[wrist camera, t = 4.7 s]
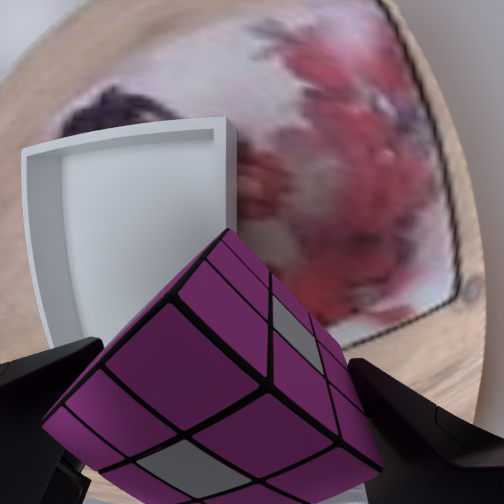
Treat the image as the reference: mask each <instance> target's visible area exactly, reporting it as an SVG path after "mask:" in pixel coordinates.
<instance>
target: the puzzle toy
mask: <svg viewBox="0 0 504 504" xmlns="http://www.w3.org/2000/svg"><path fill="white" fill-rule="evenodd" d="M347 367H348V365H347V363H346V360H345V358H344V355H343V352H342V350H341V347H340V345H339V344H338V343H337V342H336V340H335V339H334V338H333V337H332V336H331V335H330V334H329V333H328V332H327V331H326V330H325V329H324V328H323V327H322V326H321V324H320V323H319V322H318V321H317V320H316V319H315V318H314V317H313V316H312V315H311V314H309V313H308V312H307V310H306V308H305V307H304V306H303V305H302V304H301V303H300V302H299V301H298V300H297V299H296V298H295V297H294V296H293V294H292V293H291V292H290V291H289V290H288V289H287V288H286V287H285V286H284V285H283V284H282V283H281V282H280V281H279V279H278V278H277V277H276V276H275V275H274V274H273V273H271V272H269V269H268V268H267V267H266V266H265V264H264V263H263V262H262V261H261V260H260V259H259V258H258V257H257V256H256V255H255V254H254V253H253V252H252V251H251V249H250V248H249V247H248V246H247V245H246V244H245V243H244V242H243V241H242V240H241V239H240V238H239V237H238V236H237V235H236V233H235V232H234V231H233V230H232V229H230V228H226V229H224V230H223V231H222V232H221V233H220V234H219V235H218V236H217V237H216V238H215V239H214V240H213V241H212V242H211V243H210V244H208V245H207V246H206V247H205V248H204V249H203V250H202V251H201V252H200V253H199V254H198V255H197V256H196V257H195V258H194V259H193V260H192V261H191V262H190V263H189V264H187V266H186V267H185V268H183V269H182V270H181V271H180V272H179V273H178V274H177V275H176V276H175V277H174V278H173V279H172V280H171V281H170V282H169V283H168V284H167V285H166V286H165V287H164V288H163V289H162V290H161V291H160V292H159V293H158V294H157V295H156V296H155V297H154V298H153V299H152V300H151V301H150V302H149V303H148V304H147V305H146V306H145V307H144V308H143V309H142V310H141V311H140V312H139V313H138V314H137V315H136V316H135V317H134V318H133V319H132V320H131V321H130V322H129V323H128V324H127V325H126V326H125V327H124V328H123V329H122V330H121V331H120V332H119V333H118V334H117V335H116V336H115V337H114V338H113V340H112V341H111V342H110V343H109V344H108V345H107V346H106V347H105V348H104V349H103V350H102V352H101V353H100V354H99V355H98V356H97V357H96V358H95V359H94V360H93V361H92V362H91V364H90V365H89V366H88V367H87V368H86V369H85V370H84V371H83V372H82V374H81V375H80V376H79V377H78V378H77V379H76V380H75V382H74V383H73V384H72V385H71V386H70V387H69V388H68V389H67V390H66V392H65V393H64V394H63V395H62V396H61V397H60V398H59V400H58V401H57V402H56V403H55V404H54V405H53V407H52V408H51V409H50V410H49V411H48V412H47V414H46V415H45V416H44V417H43V418H42V420H41V422H40V424H41V426H42V427H43V429H45V430H46V431H47V432H48V433H49V434H50V435H51V436H52V437H53V438H54V439H55V440H57V441H58V442H59V443H60V444H61V445H62V446H63V447H65V448H66V449H67V450H68V451H69V452H71V453H72V454H73V455H74V456H75V457H77V458H78V459H79V460H80V461H82V462H83V463H84V464H86V465H87V466H88V467H90V468H91V469H92V470H94V471H98V473H99V474H100V475H101V476H102V477H103V478H105V479H106V480H108V481H109V482H111V483H112V484H114V485H115V486H117V487H118V488H120V489H121V490H123V491H125V492H126V493H128V494H129V495H131V496H133V497H134V498H136V499H138V500H140V501H141V502H143V503H145V504H311V503H312V504H317V503H319V502H322V501H324V500H327V499H329V498H332V497H334V496H336V495H339V494H341V493H343V492H345V491H348V490H350V489H352V488H354V487H356V486H358V485H360V484H362V483H364V482H366V481H368V480H370V479H372V478H374V477H376V476H378V475H379V474H380V473H382V471H383V463H382V460H381V457H380V454H379V451H378V448H377V445H376V442H375V440H374V437H373V434H372V431H371V428H370V425H369V422H368V419H367V418H366V416H365V414H364V413H365V411H364V408H363V406H362V404H361V401H360V399H359V397H358V394H357V392H356V389H355V386H354V384H353V381H352V378H351V376H350V374H349V370H348V368H347Z"/></svg>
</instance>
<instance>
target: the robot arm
mask: <svg viewBox="0 0 504 504" xmlns="http://www.w3.org/2000/svg"><path fill="white" fill-rule="evenodd" d="M103 349H104V344H103V341H102V339H100V338H97V337H92V336H91V337H87V338H84V339H81V340H78V341H75V342H72V343H68V344H65V345H62V346H59V347H56V348H52V349H49V350H46V351H43V352H40V353H36V354H33V355H30V356H26V357H23V358H20V359H16V360H13V361H11V362H6V363H3V364H0V504H82V503H83V501H84V498H85V496H86V493H87V491H88V488H89V486H90V483H91V481H92V480H91V479H89V478H88V477H85V476H84V475H82V474H81V472H82V470H83V468H84V467H85V465H86V464H84V463H83V462H82V461H80V460H79V459H78V458H77V457H75V456H74V455H73V454H72V453H71V452H69V451H68V450H67V449H66V448H65V447H63V446H62V445H61V444H60V443H59V442H58V441H57V440H55V439H54V438H53V437H52V436H51V435H50V434H49V433H48V432H47V431H46V430H45V429H43V427H42V426H41V424H40V422H41V420H42V418H43V417H44V416H45V415H46V414H47V412H48V411H49V410H50V409H51V408H52V407H53V405H54V404H55V403H56V402H57V401H58V400H59V398H60V397H61V396H62V395H63V394H64V393H65V392H66V390H67V389H68V388H69V387H70V386H71V385H72V384H73V383H74V382H75V380H76V379H77V378H78V377H79V376H80V375H81V374H82V372H83V371H84V370H85V369H86V368H87V367H88V366H89V365H90V364H91V362H92V361H93V360H94V359H95V358H96V357H97V356H98V355H99V354H100V353H101V352H102V350H103ZM347 368H348V370H349V374H350V376H351V378H352V381H353V384H354V386H355V389H356V392H357V394H358V397H359V399H360V401H361V404H362V406H363V408H364V411H365V413H364V414H365V416H366V418H367V419H368V422H369V425H370V428H371V431H372V434H373V437H374V440H375V442H376V445H377V448H378V451H379V454H380V457H381V460H382V463H383V471H382V473H380V474H379V475H378V476H376V477H374V478H372V479H370V480H368V481H366V482H364V486H365V491H366V495H367V500H368V504H504V438H501V437H499V436H497V435H494V434H492V433H490V432H488V431H485V430H483V429H481V428H479V427H476V426H475V425H473V424H470V423H468V422H466V421H464V420H462V419H460V418H458V417H457V416H455V415H453V414H451V413H450V412H448V411H446V410H445V409H443V408H441V407H440V406H437V405H436V404H435V403H433V402H431V401H430V400H428V399H427V398H425V397H423V396H422V395H420V394H419V393H417V392H415V391H414V390H412V389H411V388H409V387H407V386H406V385H404V384H403V383H401V382H399V381H398V380H396V379H395V378H393V377H391V376H390V375H388V374H387V373H385V372H384V371H382V370H381V369H379V368H377V367H376V366H374V365H373V364H371V363H370V362H368V361H367V360H365V359H363V358H352V359H350V360H349V363H348V367H347Z"/></svg>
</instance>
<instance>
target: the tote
mask: <svg viewBox="0 0 504 504" xmlns="http://www.w3.org/2000/svg"><path fill="white" fill-rule="evenodd" d="M21 177H22V203H23V217H24V228H25V237H26V245H27V252H28V258H29V265H30V270H31V276H32V281H33V286H34V291H35V295H36V300H37V304H38V308H39V312H40V316H41V320H42V323H43V327H44V331H45V334H46V337H47V341H48V344H49V347H50V349H52V348H56V347H59V346H62V345H65V344H68V343H72V342H75V341H78V340H81V339H84V338H87V337H91V336H92V337H97V338H100V339H102V341H103V344H104V348H105V347H106V346H107V345H108V344H109V343H110V342H111V341H112V340H113V338H114V337H115V336H116V335H117V334H118V333H119V332H120V331H121V330H122V329H123V328H124V327H125V326H126V325H127V324H128V323H129V322H130V321H131V320H132V319H133V318H134V317H135V316H136V315H137V314H138V313H139V312H140V311H141V310H142V309H143V308H144V307H145V306H146V305H147V304H148V303H149V302H150V301H151V300H152V299H153V298H154V297H155V296H156V295H157V294H158V293H159V292H160V291H161V290H162V289H163V288H164V287H165V286H166V285H167V284H168V283H169V282H170V281H171V280H172V279H173V278H174V277H175V276H176V275H177V274H178V273H179V272H180V271H181V270H182V269H183V268H185V267H186V266H187V264H189V263H190V262H191V261H192V260H193V259H194V258H195V257H196V256H197V255H198V254H199V253H200V252H201V251H202V250H203V249H204V248H205V247H206V246H207V245H208V244H210V243H211V242H212V241H213V240H214V239H215V238H216V237H217V236H218V235H219V234H220V233H221V232H222V231H223V230H224V229H226V228H230V229H232V230H233V231H234V232H235V233H236V235H237V130H236V128H235V127H234V126H233V124H232V123H231V122H230V121H229V119H228V118H227V117H206V118H191V119H179V120H169V121H159V122H151V123H143V124H135V125H128V126H122V127H116V128H110V129H104V130H99V131H93V132H88V133H83V134H79V135H74V136H70V137H65V138H61V139H57V140H53V141H49V142H45V143H41V144H38V145H34V146H31V147H27V148H24V149H22V162H21Z"/></svg>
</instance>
